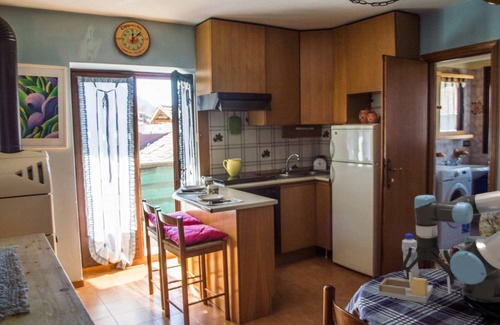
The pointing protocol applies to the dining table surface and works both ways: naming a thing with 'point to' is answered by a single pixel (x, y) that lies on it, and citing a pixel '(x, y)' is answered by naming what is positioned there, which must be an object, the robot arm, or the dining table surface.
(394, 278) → the crook tool
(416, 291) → the block
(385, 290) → the cubby deck
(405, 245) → the bottle
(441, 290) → the dining table surface
